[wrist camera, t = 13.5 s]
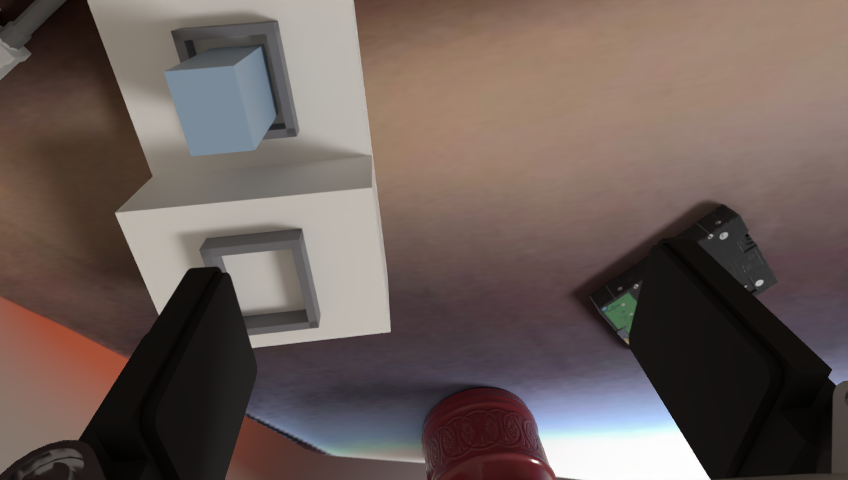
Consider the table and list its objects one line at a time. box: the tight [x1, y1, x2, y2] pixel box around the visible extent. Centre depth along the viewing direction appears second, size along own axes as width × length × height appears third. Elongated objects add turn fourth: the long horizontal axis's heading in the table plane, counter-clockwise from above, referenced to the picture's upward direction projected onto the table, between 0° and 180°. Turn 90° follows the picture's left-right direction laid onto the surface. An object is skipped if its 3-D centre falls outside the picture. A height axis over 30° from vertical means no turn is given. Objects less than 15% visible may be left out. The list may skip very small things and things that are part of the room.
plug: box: [164, 44, 279, 156], centre depth 29 cm, size 4×4×8 cm
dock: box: [87, 0, 391, 348], centre depth 33 cm, size 24×16×10 cm, turn 4°
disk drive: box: [589, 205, 778, 347], centre depth 47 cm, size 10×3×15 cm
